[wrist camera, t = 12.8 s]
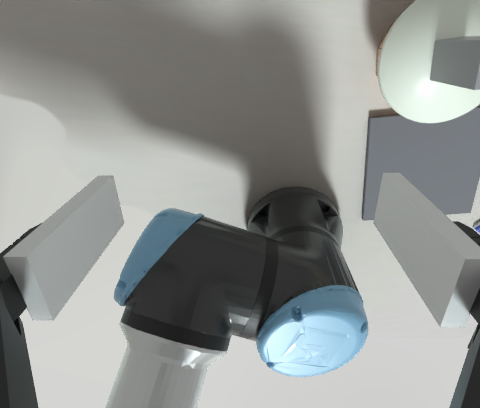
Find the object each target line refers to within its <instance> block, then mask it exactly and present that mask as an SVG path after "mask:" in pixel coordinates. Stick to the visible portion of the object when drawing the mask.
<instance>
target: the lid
mask: <svg viewBox="0 0 480 408" xmlns="http://www.w3.org/2000/svg"><path fill="white" fill-rule="evenodd" d="M378 80H379V86H380V89H381V92H382V94H383V97H384V99H385V100H386V102H387V103H388V105H389V106H390V107H391V108H392V109H393V110H394V111H396V112H397V113H398V114H400V115H402V116H403V117H405V118H407V119H410V120H412V121H416V122H420V123H439V122H445V121H448V120H452V119H455V118H457V117H459V116H462V115H464V114H465V113H467V112H469V111H471V110H472V109H474V108H475V107H477V106H478V105H479V104H480V0H416V1H414V2H413V3H412V4H411V5H410V6H408V7H407V9H406V10H405V11H404V12H403V13H402V14H401V15H400V16H399V17H398V19H397V20H396V21H395V22H394V24H393V26H392V27H391V29H390V30H389V32H388V34H387V36H386V38H385V40H384V43H383V46H382V48H381V52H380V56H379V62H378Z"/></svg>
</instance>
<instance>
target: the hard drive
mask: <svg viewBox="0 0 480 408" xmlns="http://www.w3.org/2000/svg"><path fill="white" fill-rule="evenodd" d="M473 228H474V229H475V230H476V231H477V232H478V233H479V234H480V222H479V223H477V224H476V225H474V226H473Z"/></svg>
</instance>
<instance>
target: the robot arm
mask: <svg viewBox="0 0 480 408" xmlns="http://www.w3.org/2000/svg"><path fill="white" fill-rule="evenodd" d="M123 224H124V220H123V216H122V212H121V207H120V203H119V199H118V194H117V190H116V186H115V181H114V177H113V176H97V177H96V178H95V179H94V180H93V181H91V182H90V183H89V184H88V185H87V186H86V187H84V188H83V189H82V190H81V191H80V192H79V193H77V194H76V195H75V196H74V197H73V198H71V199H70V200H69V201H68V202H67V203H66V204H64V205H63V206H62V207H61V208H60V209H59V210H57V211H56V212H55V213H54V214H53V215H52V216H50V217H49V218H48V219H47V220H46V221H44V222H43V223H41V224H39V225H37V226H35V227H33V228H31V229H29V230H28V231H27V232H26V233H24V234H23V235H22V236H21V237H20V239H17V240H16V241H15V242H14V243H13V245H10V246H9V247H8V248H6V249H5V250H4V251H3V252H2V253H0V408H38V403H37V398H36V392H35V387H34V383H33V377H32V371H31V366H30V360H29V355H28V350H27V344H26V339H25V333H24V328H23V324H22V321H21V319H20V317H19V316H20V315H21V314H22V312H23V311H24V310H25V309H26V308H27V310H28V312H29V314H30V316H31V318H32V320H54V319H55V318H56V316H57V315H58V313H59V312H60V310H61V309H62V308H63V307H64V305H65V304H66V302H67V301H68V300H69V298H70V297H71V296H72V294H73V293H74V292H75V290H76V289H77V287H78V286H79V285H80V283H81V282H82V281H83V279H84V278H85V276H86V275H87V274H88V272H89V271H90V270H91V268H92V267H93V265H94V264H95V263H96V261H97V260H98V259H99V257H100V256H101V254H102V253H103V252H104V250H105V249H106V248H107V246H108V245H109V243H110V242H111V240H112V239H113V238H114V237H115V235H116V234H117V232H118V231H119V230H120V228H121V227H122V226H123ZM374 225H375V226H376V228H377V229H378V231H379V232H380V234H381V235H382V237H383V239H384V240H385V242H386V243H387V245H388V246H389V248H390V250H391V251H392V253H393V254H394V256H395V257H396V259H397V260H398V262H399V264H400V265H401V267H402V268H403V270H404V271H405V273H406V274H407V276H408V278H409V279H410V281H411V282H412V284H413V285H414V287H415V289H416V290H417V292H418V293H419V295H420V296H421V298H422V299H423V301H424V303H425V304H426V306H427V307H428V309H429V310H430V312H431V314H432V315H433V317H434V318H435V320H436V321H437V323H438V324H439V326H440V327H465V325H466V322H467V320H468V318H469V315H470V313H471V315H472V316H473V317H474V319H475V320H476V321H477V322H478V325H477V327H476V330H475V332H474V334H473V336H472V339H471V341H470V343H469V345H468V348H469V350H468V353H467V356H466V359H465V363H464V365H463V368H462V371H461V375H460V377H459V380H458V383H457V386H456V389H455V393H454V396H453V399H452V402H451V405H450V408H480V235H479V234H478V233H477V232H475V231H474V230H473V229H472V228H470V227H468V226H466V225H464V224H462V223H460V222H452V221H451V220H450V219H449V218H448V217H447V216H446V215H445V214H444V213H443V212H442V211H440V210H439V209H438V208H437V207H436V206H435V205H434V204H433V203H432V202H431V201H430V200H429V199H427V198H426V197H425V196H424V195H423V194H422V193H421V192H420V191H419V190H418V189H417V188H416V187H414V186H413V185H412V184H411V183H410V182H409V181H408V180H407V179H406V178H405V177H404V176H403V175H401V174H400V173H383V176H382V181H381V186H380V191H379V197H378V202H377V207H376V212H375V217H374ZM342 236H343V227H342V222H341V219H340V216H339V214H338V212H337V210H336V208H335V206H334V205H333V203H332V202H331V201H330V200H329V199H328V198H327V197H325V196H324V195H323V194H321V193H319V192H317V191H314V190H312V189H308V188H303V187H289V188H284V189H280V190H277V191H274V192H272V193H270V194H268V195H267V196H265V197H264V198H263V199H261V200H260V201H259V202H258V203H257V204H256V206H255V207H254V208H253V210H252V212H251V214H250V216H249V219H248V225H247V230H244V229H241V228H238V227H235V226H232V225H228V224H225V223H222V222H219V221H216V220H213V219H210V218H207V217H204V215H203V214H193V213H190V212H186V211H182V210H178V209H173V208H170V209H165V210H163V211H161V212H160V213H158V214H157V215H156V216H155V217H154V218H153V219H152V220H151V222H150V223H149V224H148V225H147V227H146V229H145V230H144V231H143V233H142V234H141V236H140V238H139V240H138V241H137V243H136V245H135V246H134V248H133V250H132V252H131V254H130V255H129V258H128V259H127V262H126V263H125V266H124V268H123V270H122V272H121V275H120V279H119V282H118V284H117V286H116V288H115V293H114V299H115V301H116V302H118V303H119V305H120V306H125V305H126V308H125V311H124V313H123V316H122V319H121V322H120V326H121V329H122V331H123V333H124V335H125V337H126V340H127V345H128V346H127V349H126V352H125V355H124V357H123V360H122V363H121V366H120V369H119V371H118V374H117V377H116V380H115V382H114V385H113V388H112V391H111V394H110V396H109V399H108V402H107V405H106V408H197V404H198V401H199V397H200V393H201V390H202V386H203V383H204V379H205V375H206V371H207V368H208V367H209V366H210V364H211V363H213V362H214V361H216V360H217V359H219V358H221V357H222V356H224V355H225V354H226V353H227V349H228V345H229V341H230V338H231V335H236V336H239V337H243V338H246V339H250V340H253V341H256V342H257V349H258V352H259V353H260V356H261V359H262V360H263V361H264V362H266V364H267V366H268V367H269V368H270V369H272V370H274V371H276V372H278V373H281V374H284V375H288V376H295V377H308V376H315V375H320V374H324V373H327V372H329V371H332V370H335V369H337V368H339V367H341V366H343V365H344V364H346V363H347V362H349V361H350V360H352V359H353V358H354V357H355V356H356V355H357V354H358V352H359V351H360V350H361V349H362V347H363V345H364V343H365V341H366V338H367V335H368V321H367V317H366V314H365V311H364V308H363V300H362V297H361V295H360V294H359V292H358V289H357V287H356V285H355V282H354V280H353V278H352V275H351V273H350V271H349V268H348V266H347V264H346V262H345V259H344V257H343V255H342V252H341V243H342Z"/></svg>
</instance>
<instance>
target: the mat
mask: <svg viewBox="0 0 480 408" xmlns="http://www.w3.org/2000/svg"><path fill="white" fill-rule="evenodd" d="M383 173H400V174H401V175H403V176H404V177H405V178H406V179H407V180H408V181H409V182H410V183H411V184H412V185H413V186H414V187H416V188H417V189H418V190H419V191H420V192H421V193H422V194H423V195H424V196H425V197H426V198H427V199H429V200H430V201H431V202H432V203H433V204H434V205H435V206H436V207H437V208H438V209H439V210H440V211H442V212H443V213H444V214H445V215H446V214H460V213H471V209H472V205H473V201H474V197H475V193H476V189H477V185H478V181H479V177H480V106H477V107H475V108H474V109H472V110H471V111H469V112H467V113H465V114H464V115H462V116H459V117H457V118H455V119H452V120H448V121H445V122H439V123H420V122H416V121H412V120H410V119H407V118H405V117H403V116H402V115H400V114H398V115H388V116H378V117H369V124H368V138H367V152H366V166H365V180H364V194H363V208H362V219H363V221H364V220H374V217H375V212H376V207H377V202H378V197H379V191H380V186H381V181H382V176H383Z"/></svg>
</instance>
